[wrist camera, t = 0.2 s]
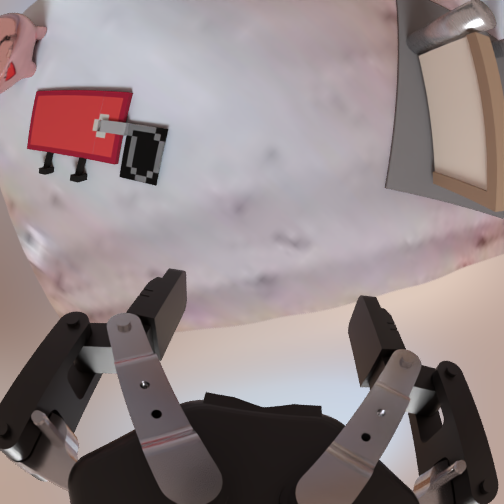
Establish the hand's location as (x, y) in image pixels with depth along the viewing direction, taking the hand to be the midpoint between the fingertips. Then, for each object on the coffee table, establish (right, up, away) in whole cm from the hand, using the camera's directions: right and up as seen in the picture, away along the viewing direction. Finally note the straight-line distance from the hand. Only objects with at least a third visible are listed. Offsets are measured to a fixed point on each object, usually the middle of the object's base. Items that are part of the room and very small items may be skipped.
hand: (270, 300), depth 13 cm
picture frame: (+26, +21, +18) cm, 38 cm away
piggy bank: (-46, +41, +17) cm, 64 cm away
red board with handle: (-28, +21, +25) cm, 43 cm away
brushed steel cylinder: (+33, +35, +13) cm, 50 cm away
